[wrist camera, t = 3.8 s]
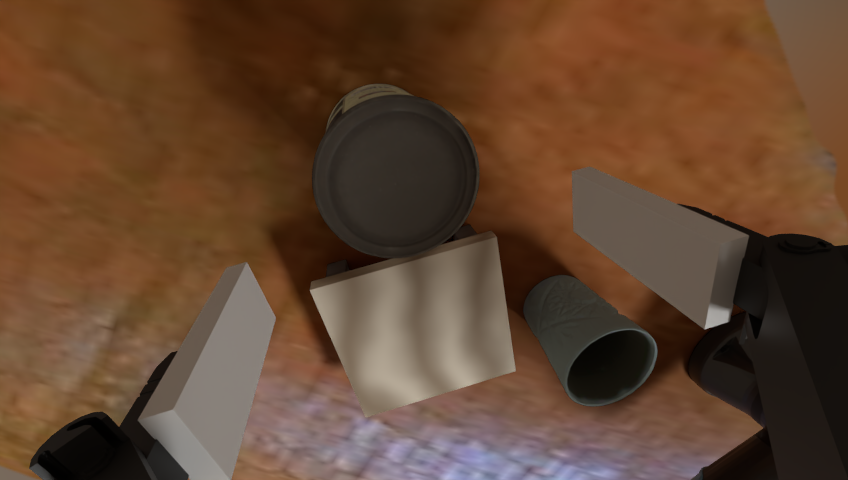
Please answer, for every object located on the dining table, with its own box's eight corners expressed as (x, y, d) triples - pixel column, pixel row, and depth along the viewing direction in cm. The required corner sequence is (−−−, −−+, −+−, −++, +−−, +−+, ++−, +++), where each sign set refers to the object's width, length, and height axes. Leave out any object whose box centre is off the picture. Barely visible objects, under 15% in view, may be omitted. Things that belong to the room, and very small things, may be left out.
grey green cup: (547, 344, 51) (599, 419, 40) (500, 309, 46) (545, 382, 36) (603, 294, 48) (675, 358, 38) (560, 252, 44) (626, 312, 34)
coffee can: (371, 213, 38) (382, 286, 25) (301, 129, 33) (272, 168, 21) (454, 153, 37) (508, 199, 24) (393, 57, 32) (420, 53, 20)
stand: (477, 213, 40) (496, 236, 35) (497, 337, 48) (515, 370, 43) (314, 259, 39) (309, 290, 34) (363, 377, 47) (365, 417, 42)
